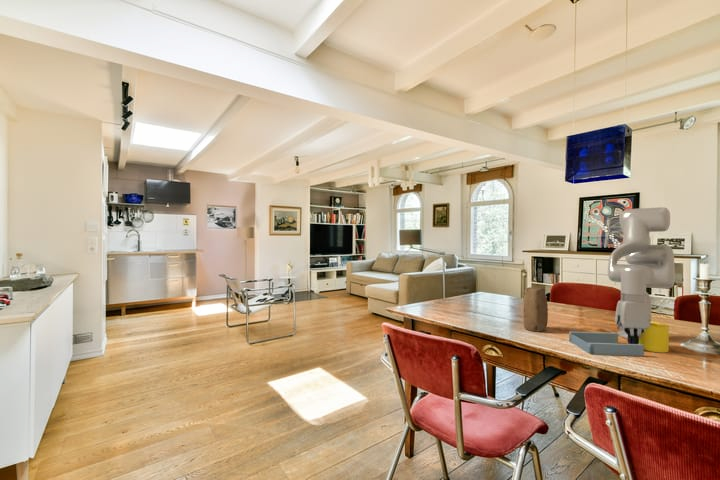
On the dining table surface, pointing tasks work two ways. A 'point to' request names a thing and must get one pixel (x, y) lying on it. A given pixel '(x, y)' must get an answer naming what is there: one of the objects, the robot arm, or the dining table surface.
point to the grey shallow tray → (604, 344)
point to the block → (535, 309)
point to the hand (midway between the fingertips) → (633, 345)
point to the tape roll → (655, 338)
